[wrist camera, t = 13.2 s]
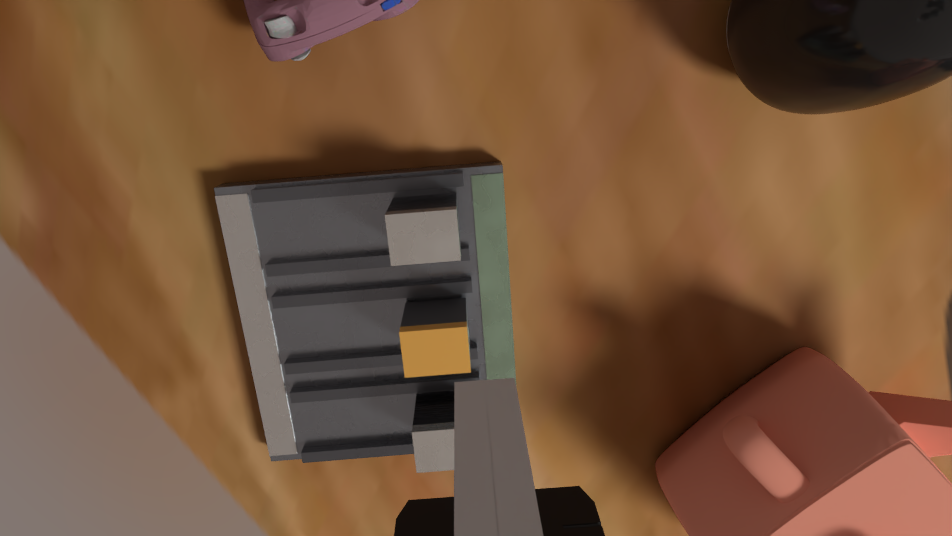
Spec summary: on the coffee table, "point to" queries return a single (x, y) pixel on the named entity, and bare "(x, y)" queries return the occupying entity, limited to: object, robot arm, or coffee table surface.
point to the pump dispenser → (838, 51)
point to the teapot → (812, 459)
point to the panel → (365, 303)
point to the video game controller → (312, 22)
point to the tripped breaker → (435, 338)
